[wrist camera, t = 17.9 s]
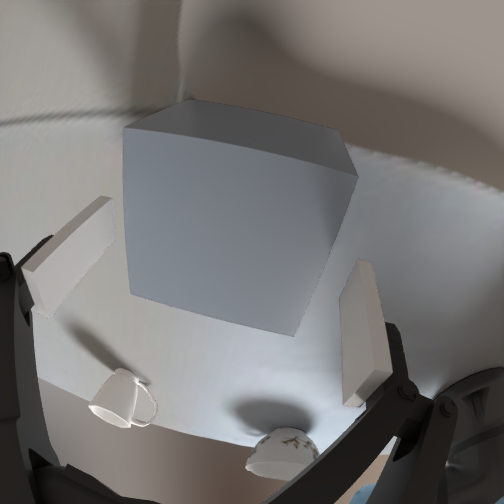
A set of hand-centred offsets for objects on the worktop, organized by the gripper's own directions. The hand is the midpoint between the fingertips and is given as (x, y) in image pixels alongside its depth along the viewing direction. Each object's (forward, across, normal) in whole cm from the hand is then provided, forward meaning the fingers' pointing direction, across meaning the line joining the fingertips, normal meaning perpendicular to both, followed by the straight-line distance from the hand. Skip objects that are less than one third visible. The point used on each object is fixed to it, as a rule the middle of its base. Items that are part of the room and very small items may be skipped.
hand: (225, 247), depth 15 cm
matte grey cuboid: (+8, 0, 0) cm, 8 cm away
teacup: (+9, -14, +43) cm, 46 cm away
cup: (+9, +12, +36) cm, 39 cm away
